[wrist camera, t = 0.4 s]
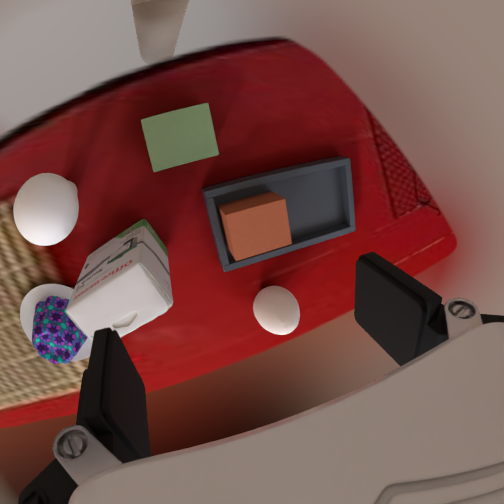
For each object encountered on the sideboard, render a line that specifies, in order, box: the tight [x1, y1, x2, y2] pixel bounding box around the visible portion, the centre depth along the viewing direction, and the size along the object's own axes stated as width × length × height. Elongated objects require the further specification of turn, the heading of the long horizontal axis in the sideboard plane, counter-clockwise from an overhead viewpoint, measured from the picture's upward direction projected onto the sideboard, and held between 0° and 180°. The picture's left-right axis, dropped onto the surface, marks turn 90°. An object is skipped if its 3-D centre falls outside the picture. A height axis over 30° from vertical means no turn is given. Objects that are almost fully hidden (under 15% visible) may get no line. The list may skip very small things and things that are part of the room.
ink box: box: [65, 219, 173, 342], centre depth 28 cm, size 9×5×12 cm, turn 116°
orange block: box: [218, 191, 292, 261], centre depth 34 cm, size 5×6×4 cm
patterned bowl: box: [20, 284, 92, 364], centre depth 31 cm, size 12×12×5 cm
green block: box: [141, 103, 219, 172], centre depth 29 cm, size 5×6×4 cm
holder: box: [202, 156, 356, 272], centre depth 36 cm, size 10×18×2 cm, turn 100°
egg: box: [253, 286, 300, 335], centre depth 38 cm, size 5×5×8 cm
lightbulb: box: [13, 173, 79, 246], centre depth 24 cm, size 6×6×11 cm
